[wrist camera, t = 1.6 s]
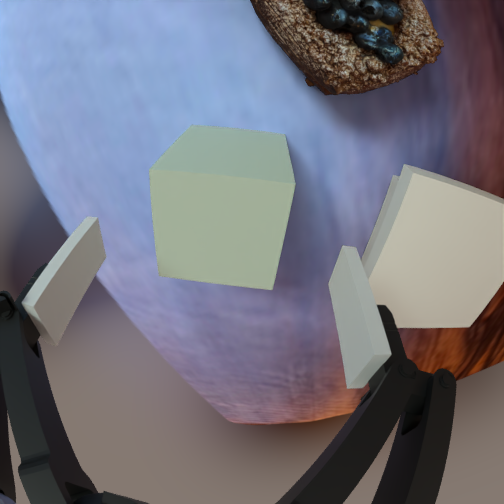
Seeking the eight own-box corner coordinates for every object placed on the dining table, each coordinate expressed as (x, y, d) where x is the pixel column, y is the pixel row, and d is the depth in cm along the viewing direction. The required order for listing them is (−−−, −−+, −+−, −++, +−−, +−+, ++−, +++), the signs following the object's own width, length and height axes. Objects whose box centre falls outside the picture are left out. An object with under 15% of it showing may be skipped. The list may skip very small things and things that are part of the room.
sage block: (191, 124, 20) (149, 169, 13) (284, 134, 20) (295, 184, 13) (189, 203, 24) (159, 276, 17) (271, 213, 25) (272, 290, 18)
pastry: (320, 110, 19) (339, 129, 14) (226, -15, 13) (211, -39, 9) (434, 57, 15) (479, 65, 10) (353, -67, 9) (377, -95, 4)
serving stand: (389, 150, 20) (413, 172, 17) (516, 197, 21) (539, 220, 17) (337, 292, 30) (344, 325, 27) (456, 301, 31) (469, 327, 27)
